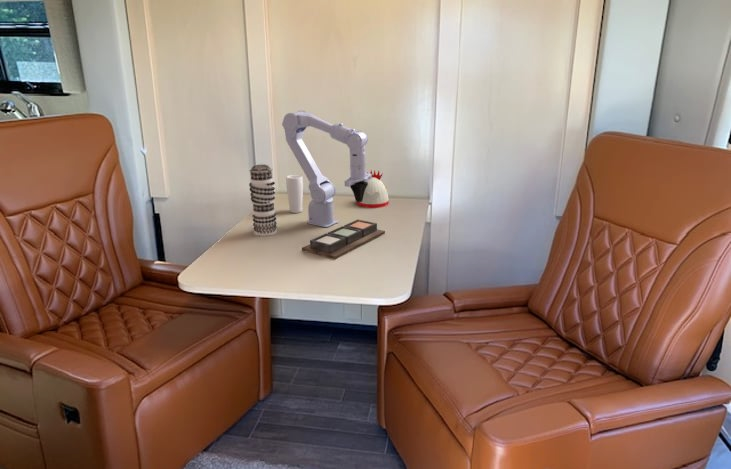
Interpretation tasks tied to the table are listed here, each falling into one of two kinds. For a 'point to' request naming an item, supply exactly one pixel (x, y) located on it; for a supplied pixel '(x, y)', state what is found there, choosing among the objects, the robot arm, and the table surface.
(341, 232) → the sage key
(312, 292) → the table surface
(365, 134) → the robot arm
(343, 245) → the key board
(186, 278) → the table surface
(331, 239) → the off-white key
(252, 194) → the white and black cylinder
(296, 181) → the drinking glass
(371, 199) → the knitted chicken hat
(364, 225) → the terracotta key
